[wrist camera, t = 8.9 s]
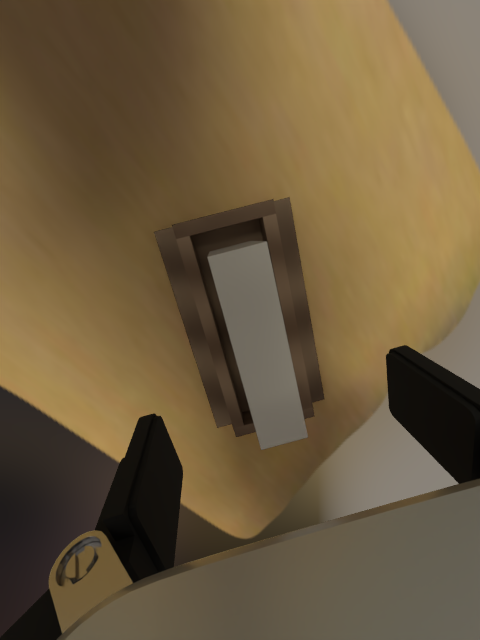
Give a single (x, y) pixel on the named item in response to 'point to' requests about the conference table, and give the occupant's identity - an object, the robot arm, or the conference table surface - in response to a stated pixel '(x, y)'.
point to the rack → (206, 313)
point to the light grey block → (259, 340)
